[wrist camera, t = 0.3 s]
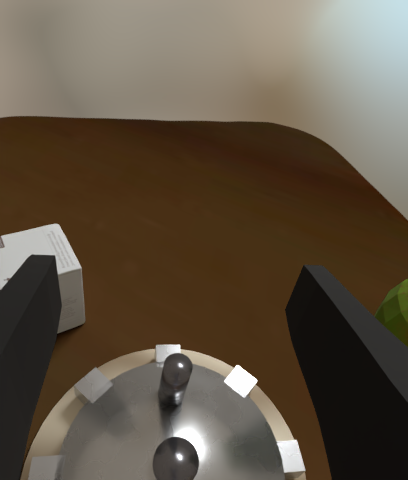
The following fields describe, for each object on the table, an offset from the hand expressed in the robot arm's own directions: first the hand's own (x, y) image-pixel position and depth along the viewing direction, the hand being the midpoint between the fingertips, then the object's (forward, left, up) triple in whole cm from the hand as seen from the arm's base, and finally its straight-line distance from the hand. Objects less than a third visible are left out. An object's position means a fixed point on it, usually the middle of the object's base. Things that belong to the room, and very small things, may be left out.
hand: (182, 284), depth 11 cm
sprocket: (+1, -2, -21) cm, 21 cm away
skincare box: (+15, +9, -22) cm, 28 cm away
